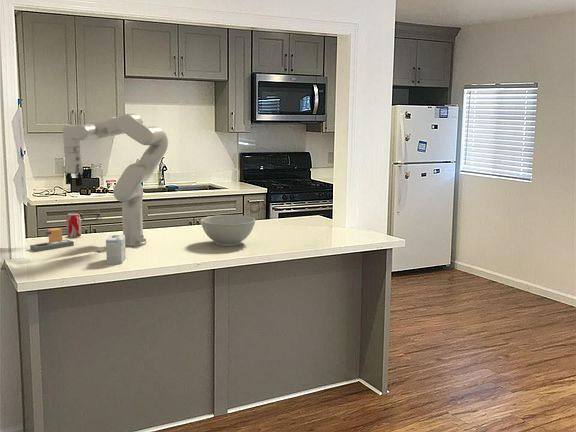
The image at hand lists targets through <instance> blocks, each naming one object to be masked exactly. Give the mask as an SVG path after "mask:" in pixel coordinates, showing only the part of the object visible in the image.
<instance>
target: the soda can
mask: <svg viewBox="0 0 576 432" xmlns="http://www.w3.org/2000/svg"><path fill="white" fill-rule="evenodd" d="M66 215H67V216H66V218H65V219H66V235H67V237H68V238H70V237H73V238H75V239H77V238H80V237H81V236H82V219H81V216H80V213H78V212H70V213H67V214H66Z"/></svg>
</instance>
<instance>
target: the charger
mask: <svg viewBox="0 0 576 432" xmlns="http://www.w3.org/2000/svg"><path fill="white" fill-rule="evenodd" d="M45 235H46V236H48V242H53V241H60V240H63V228H59V227H55V228H48V229H47V232H45Z"/></svg>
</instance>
